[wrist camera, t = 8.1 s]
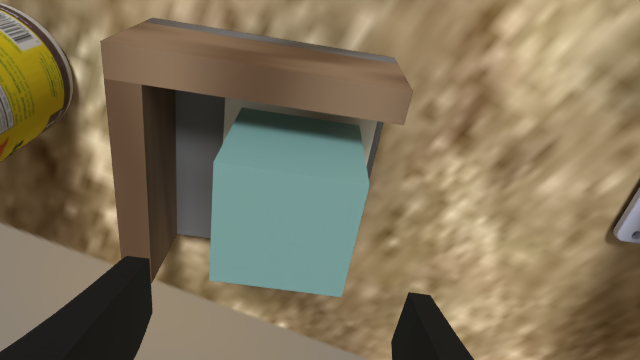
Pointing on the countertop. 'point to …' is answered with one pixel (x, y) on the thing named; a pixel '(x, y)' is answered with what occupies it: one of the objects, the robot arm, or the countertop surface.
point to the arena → (219, 114)
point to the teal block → (287, 202)
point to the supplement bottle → (29, 80)
